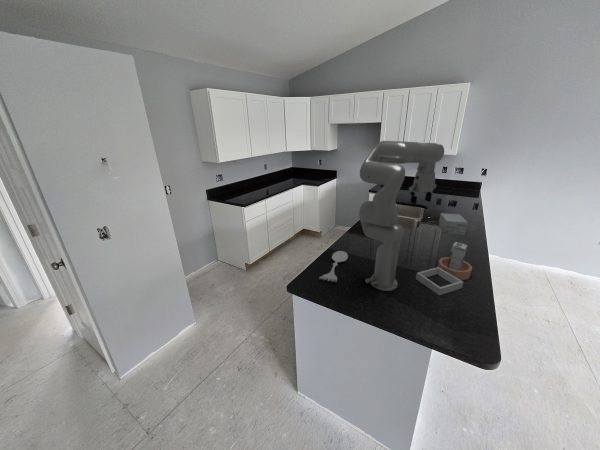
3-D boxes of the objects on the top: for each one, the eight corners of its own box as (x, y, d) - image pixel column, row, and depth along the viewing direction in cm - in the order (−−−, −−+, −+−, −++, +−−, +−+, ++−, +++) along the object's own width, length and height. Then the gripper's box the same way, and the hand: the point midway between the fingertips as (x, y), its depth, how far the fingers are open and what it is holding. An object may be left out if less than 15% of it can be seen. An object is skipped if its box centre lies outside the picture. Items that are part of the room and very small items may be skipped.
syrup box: (448, 266, 134) (454, 241, 128) (461, 269, 130) (467, 244, 125) (445, 270, 130) (451, 245, 124) (458, 274, 126) (465, 248, 121)
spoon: (318, 283, 124) (318, 277, 123) (334, 253, 151) (334, 248, 150) (336, 287, 121) (336, 281, 119) (349, 256, 148) (349, 250, 147)
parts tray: (439, 295, 113) (440, 289, 112) (415, 278, 125) (416, 272, 124) (461, 288, 118) (463, 281, 116) (436, 272, 130) (438, 266, 128)
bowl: (455, 282, 122) (457, 274, 120) (431, 267, 134) (432, 260, 133) (476, 276, 126) (478, 268, 125) (451, 262, 139) (453, 255, 137)
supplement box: (465, 235, 171) (468, 222, 168) (443, 233, 175) (446, 221, 171) (457, 225, 187) (460, 214, 183) (438, 224, 190) (440, 212, 186)
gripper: (418, 171, 119) (412, 206, 126) (445, 168, 125) (438, 202, 131) (406, 169, 126) (402, 202, 132) (433, 166, 131) (427, 198, 138)
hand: (420, 202), depth 132 cm, fingers open, 9 cm apart
